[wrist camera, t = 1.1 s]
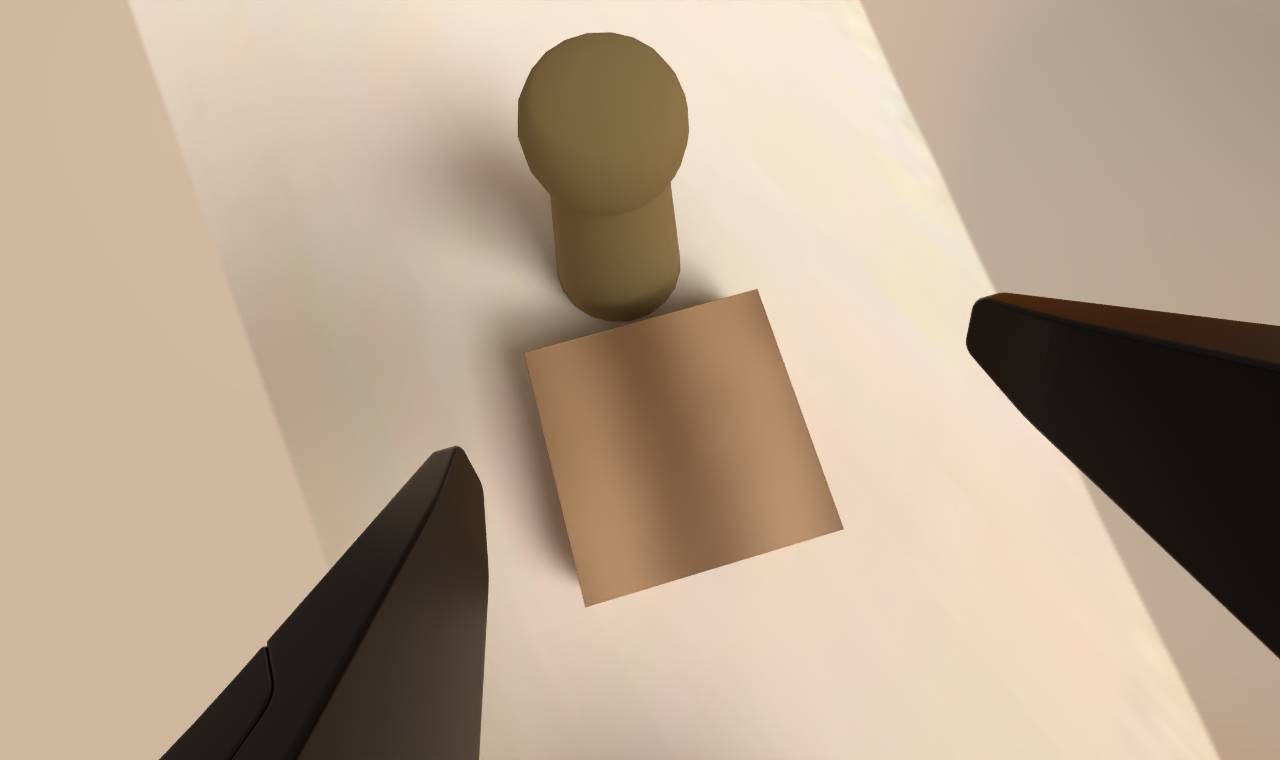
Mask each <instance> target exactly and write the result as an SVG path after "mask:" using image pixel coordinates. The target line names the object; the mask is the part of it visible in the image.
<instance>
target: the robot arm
mask: <svg viewBox="0 0 1280 760" xmlns="http://www.w3.org/2000/svg"><path fill="white" fill-rule="evenodd" d="M966 346H967V349H968V351H969V353H970V355H971V356H972V357H973V358H974V359H975V360H976V362H977V363H978V364H979V365H980V366H981V367H982V369H983V370H984V371H985V372H986V373H987V374H988V376H989V377H990V378H991V379H992V380H993V381H994V383H995V384H996V385H997V386H998V387H999V388H1000V389H1001V391H1002V392H1003V393H1004V394H1005V395H1006V396H1007V398H1008V399H1009V400H1010V401H1011V402H1012V403H1013V405H1014V406H1015V407H1016V408H1017V409H1018V410H1019V411H1020V412H1021V413H1022V415H1023V416H1024V417H1025V418H1026V419H1027V420H1028V421H1029V422H1030V423H1031V424H1032V425H1033V426H1034V427H1035V428H1036V429H1037V430H1038V431H1039V432H1040V433H1041V434H1043V435H1044V436H1045V437H1046V438H1047V439H1048V440H1049V441H1050V442H1051V443H1052V444H1053V445H1054V446H1055V447H1056V448H1057V449H1058V450H1059V451H1060V452H1062V453H1063V454H1064V455H1065V456H1066V457H1067V458H1068V459H1069V460H1070V461H1071V462H1072V463H1073V464H1074V465H1075V466H1076V467H1077V468H1078V469H1079V470H1080V471H1082V472H1083V473H1084V474H1085V475H1086V476H1087V477H1088V478H1089V479H1090V480H1091V481H1092V482H1093V483H1095V485H1096V486H1097V487H1098V488H1100V489H1101V490H1102V491H1103V492H1104V493H1105V494H1106V495H1107V496H1108V497H1109V498H1110V499H1111V500H1112V501H1113V502H1114V503H1115V504H1116V505H1117V506H1118V507H1120V508H1121V509H1122V510H1123V511H1124V512H1125V513H1126V514H1127V515H1128V516H1129V517H1130V518H1131V519H1132V520H1133V521H1134V522H1135V523H1136V524H1137V525H1138V526H1140V527H1141V528H1142V529H1143V530H1144V531H1145V532H1146V533H1147V534H1148V535H1149V536H1150V537H1151V538H1152V539H1153V540H1154V541H1155V542H1157V543H1158V544H1159V545H1160V546H1161V547H1162V548H1163V549H1164V550H1165V551H1166V552H1167V553H1168V554H1169V555H1170V556H1171V557H1172V558H1173V559H1175V561H1176V562H1178V563H1179V564H1180V565H1181V566H1182V567H1183V568H1184V569H1185V570H1186V571H1187V572H1188V573H1189V574H1190V575H1191V576H1192V577H1193V578H1194V579H1195V580H1196V581H1198V582H1199V583H1200V584H1201V585H1202V586H1203V587H1204V588H1205V589H1206V590H1207V591H1208V592H1209V593H1210V594H1211V595H1212V596H1213V597H1214V598H1215V599H1217V600H1218V601H1219V602H1220V603H1221V604H1222V605H1223V606H1224V607H1225V608H1226V609H1227V610H1228V611H1229V612H1230V613H1232V615H1233V616H1234V617H1235V618H1237V619H1238V620H1239V621H1240V622H1241V623H1242V624H1243V625H1244V626H1245V627H1246V628H1247V629H1248V630H1249V631H1250V632H1251V633H1252V634H1253V635H1254V636H1256V637H1257V638H1258V639H1259V640H1260V641H1261V642H1262V643H1263V644H1264V645H1265V646H1266V647H1267V648H1268V649H1269V650H1270V651H1272V653H1273V654H1275V655H1276V656H1277V657H1278V658H1279V659H1280V326H1275V325H1267V324H1259V323H1250V322H1242V321H1233V320H1226V319H1217V318H1210V317H1201V316H1193V315H1185V314H1177V313H1169V312H1160V311H1152V310H1144V309H1136V308H1127V307H1120V306H1111V305H1103V304H1095V303H1087V302H1079V301H1070V300H1062V299H1053V298H1045V297H1037V296H1029V295H1021V294H1013V293H997V294H994V295H990V296H987V297H983V298H980V299H979V300H977V301H976V302H975V304H974V305H973V308H972V312H971V317H970V322H969V327H968V332H967V337H966ZM488 582H489V573H488V554H487V539H486V524H485V509H484V495H483V488H482V485H481V482H480V480H479V478H478V476H477V474H476V472H475V470H474V468H473V467H472V465H471V463H470V461H469V459H468V457H467V455H466V454H465V452H464V450H463V449H462V448H461V447H458V446H454V447H450V448H446V449H443V450H439V451H436V452H434V453H433V454H432V455H431V456H430V457H429V458H428V459H427V460H426V461H425V462H424V464H423V465H422V466H421V467H420V468H419V469H418V470H417V472H416V473H415V474H414V475H413V476H412V477H411V478H410V480H409V481H408V482H407V483H406V484H405V485H404V486H403V488H402V489H401V490H400V491H399V492H398V493H397V494H396V495H395V497H394V498H393V499H392V500H391V501H390V502H389V503H388V505H387V506H386V507H385V508H384V509H383V510H382V511H381V513H380V514H379V515H378V516H377V517H376V518H375V519H374V521H373V522H372V523H371V524H370V525H369V526H368V527H367V528H366V530H365V531H364V532H363V533H362V534H361V535H360V536H359V538H358V539H357V540H356V541H355V542H354V543H353V544H352V546H351V547H350V548H349V549H348V550H347V551H346V552H345V554H344V555H343V556H342V557H341V558H340V559H339V560H338V561H337V563H336V564H335V565H334V566H333V567H332V568H331V569H330V571H329V572H328V573H327V574H326V575H325V576H324V577H323V579H322V580H321V581H320V582H319V583H318V584H317V586H315V588H314V589H313V590H312V591H311V592H310V593H309V595H308V596H307V597H306V598H305V599H304V600H303V602H301V604H300V605H299V606H298V607H297V608H296V609H295V610H294V612H293V613H292V614H291V615H290V616H289V617H288V618H287V619H286V621H285V622H284V623H283V624H282V625H281V626H280V627H279V629H278V630H277V631H276V632H275V633H274V634H273V635H272V637H271V638H270V639H269V640H268V642H267V647H262V648H261V649H260V650H259V651H258V652H257V653H256V655H255V656H254V657H253V658H252V659H251V660H250V661H249V663H248V664H247V665H246V666H245V667H244V668H243V669H242V670H241V672H240V673H239V674H238V675H237V676H236V677H235V678H234V680H233V681H232V682H231V683H230V684H229V685H228V686H227V687H226V688H225V690H224V691H223V692H222V693H221V694H220V695H219V696H218V697H217V699H215V700H214V702H213V703H212V704H211V705H210V706H209V707H208V708H207V709H206V710H205V712H204V713H203V714H202V715H201V716H200V717H199V718H198V719H197V720H196V722H195V723H194V724H193V725H192V726H191V727H190V728H189V729H188V730H187V731H186V732H185V733H184V734H183V735H182V736H181V737H180V738H179V739H178V740H177V741H176V743H175V744H174V745H173V746H172V747H171V748H170V749H169V750H168V751H167V752H166V753H165V754H164V755H163V756H162V757H161V758H160V759H159V760H479V751H480V732H481V714H482V696H483V678H484V660H485V642H486V623H487V605H488Z"/></svg>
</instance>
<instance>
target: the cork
mask: <svg viewBox="0 0 1280 760" xmlns="http://www.w3.org/2000/svg"><path fill="white" fill-rule="evenodd" d="M688 134H689V124H688V108H687V103H686V98H685V94H684V92H683V89H682V87H681V85H680V83H679V81H678V78H677V76H676V74H675V73H674V71H673V70H672V69H671V67H670V66H669V65H668V64H667V63H666V62H665V61H664V59H663V58H662V57H661V56H660V55H659V54H658V53H657V52H656V51H655V50H654V49H653V48H651V47H649V46H648V45H646V44H644V43H642V42H640V41H639V40H637V39H635V38H633V37H628V36H624V35H620V34H615V33H587V34H583V35H580V36H577V37H574V38H570V39H567V40H564V41H563V42H561V43H560V44H558V45H557V46H555V47H553V48H552V49H550V50H549V51H547V52H546V53H545V54H544V55H543V56H542V57H541V59H540V60H539V61H538V62H537V63H536V64H535V66H534V67H533V68H532V69H531V71H530V73H529V76H528V78H527V80H526V82H525V85H524V87H523V90H522V92H521V95H520V97H519V100H518V138H519V141H520V144H521V146H522V149H523V152H524V155H525V158H526V160H527V163H528V166H529V168H530V171H531V172H532V174H533V175H534V176H535V177H536V178H537V180H538V181H539V182H540V183H541V184H542V186H543V187H544V188H545V189H546V190H547V192H548V193H549V194H550V196H551V206H552V217H553V228H554V239H555V249H556V260H557V271H558V276H559V279H560V282H561V285H562V287H563V290H564V292H565V293H566V295H567V296H568V297H569V298H570V300H571V301H572V302H573V303H574V305H575V306H577V307H578V308H580V309H581V310H583V311H584V312H586V313H587V314H589V315H590V316H593V317H596V318H600V319H604V320H607V321H631V320H634V319H636V318H639V317H642V316H645V315H648V314H650V313H651V312H652V311H654V310H655V309H657V308H658V307H659V306H661V305H662V304H663V303H664V302H665V301H666V300H667V298H668V297H669V295H670V294H671V293H672V291H673V290H674V288H675V286H676V283H677V279H678V276H679V272H680V257H679V246H678V238H677V230H676V223H675V215H674V207H673V199H672V191H671V183H670V182H671V181H672V179H673V178H674V177H675V175H676V173H677V171H678V169H679V168H680V165H681V162H682V159H683V156H684V152H685V149H686V146H687V141H688Z"/></svg>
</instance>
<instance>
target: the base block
mask: <svg viewBox="0 0 1280 760" xmlns="http://www.w3.org/2000/svg"><path fill="white" fill-rule="evenodd" d="M524 355H525V359H526V364H527V368H528V372H529V376H530V380H531V384H532V388H533V393H534V397H535V401H536V405H537V409H538V413H539V417H540V421H541V426H542V430H543V434H544V438H545V442H546V446H547V450H548V455H549V459H550V463H551V467H552V471H553V475H554V479H555V484H556V488H557V492H558V496H559V500H560V504H561V508H562V512H563V517H564V521H565V525H566V529H567V533H568V537H569V541H570V546H571V550H572V554H573V558H574V562H575V566H576V570H577V575H578V579H579V583H580V587H581V591H582V595H583V599H584V603H585V607H588V606H591V605H595V604H598V603H601V602H605V601H608V600H611V599H615V598H618V597H621V596H624V595H628V594H631V593H634V592H638V591H641V590H644V589H648V588H651V587H654V586H658V585H661V584H664V583H667V582H671V581H674V580H677V579H681V578H684V577H687V576H691V575H694V574H697V573H700V572H704V571H707V570H710V569H714V568H717V567H720V566H724V565H727V564H730V563H734V562H737V561H740V560H743V559H747V558H750V557H753V556H757V555H760V554H763V553H767V552H770V551H773V550H776V549H780V548H783V547H786V546H790V545H793V544H796V543H800V542H803V541H806V540H810V539H813V538H816V537H819V536H823V535H826V534H829V533H833V532H836V531H839V530H843V529H844V528H843V526H842V523H841V520H840V517H839V515H838V512H837V509H836V506H835V503H834V501H833V498H832V495H831V492H830V490H829V487H828V484H827V481H826V478H825V476H824V473H823V470H822V467H821V465H820V462H819V459H818V456H817V454H816V451H815V448H814V445H813V442H812V440H811V437H810V434H809V431H808V429H807V426H806V423H805V420H804V417H803V415H802V412H801V409H800V406H799V404H798V401H797V398H796V395H795V392H794V390H793V387H792V384H791V381H790V379H789V376H788V373H787V370H786V367H785V365H784V362H783V359H782V356H781V354H780V351H779V348H778V345H777V342H776V340H775V337H774V334H773V331H772V329H771V326H770V323H769V320H768V317H767V315H766V312H765V309H764V306H763V304H762V301H761V298H760V295H759V292H758V290H757V289H756V290H752V291H748V292H745V293H741V294H737V295H734V296H730V297H726V298H723V299H719V300H715V301H712V302H708V303H704V304H701V305H697V306H693V307H690V308H686V309H683V310H679V311H675V312H672V313H668V314H664V315H661V316H657V317H653V318H650V319H646V320H642V321H639V322H635V323H631V324H628V325H624V326H620V327H617V328H613V329H609V330H606V331H602V332H598V333H595V334H591V335H587V336H584V337H580V338H576V339H573V340H569V341H565V342H562V343H558V344H554V345H551V346H547V347H543V348H540V349H536V350H532V351H529V352H525V353H524Z"/></svg>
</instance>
